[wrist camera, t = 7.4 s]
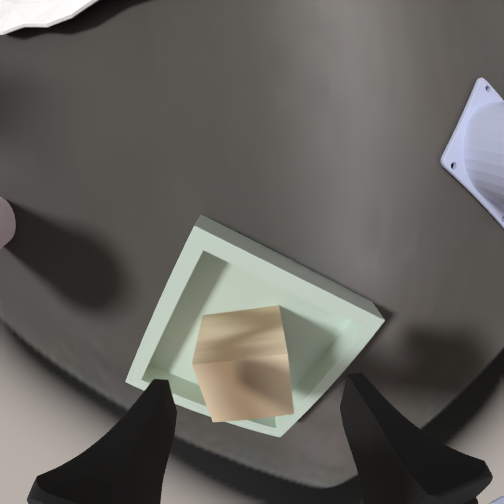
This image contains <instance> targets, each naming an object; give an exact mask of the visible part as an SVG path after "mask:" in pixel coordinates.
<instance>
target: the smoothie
mask: <svg viewBox="0 0 504 504" xmlns="http://www.w3.org/2000/svg"><path fill="white" fill-rule="evenodd" d="M15 229H16V221H15V215H14V212H13V210H12V208H11V206H10V204H9V203H8V202H7V201H6V200H5V199H3V198H1V197H0V249H1V248H2V247H3V246H4V245H6V244H7V243H8V242H9V241H10V240H11V239H12V238H13V236H14V234H15Z"/></svg>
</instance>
